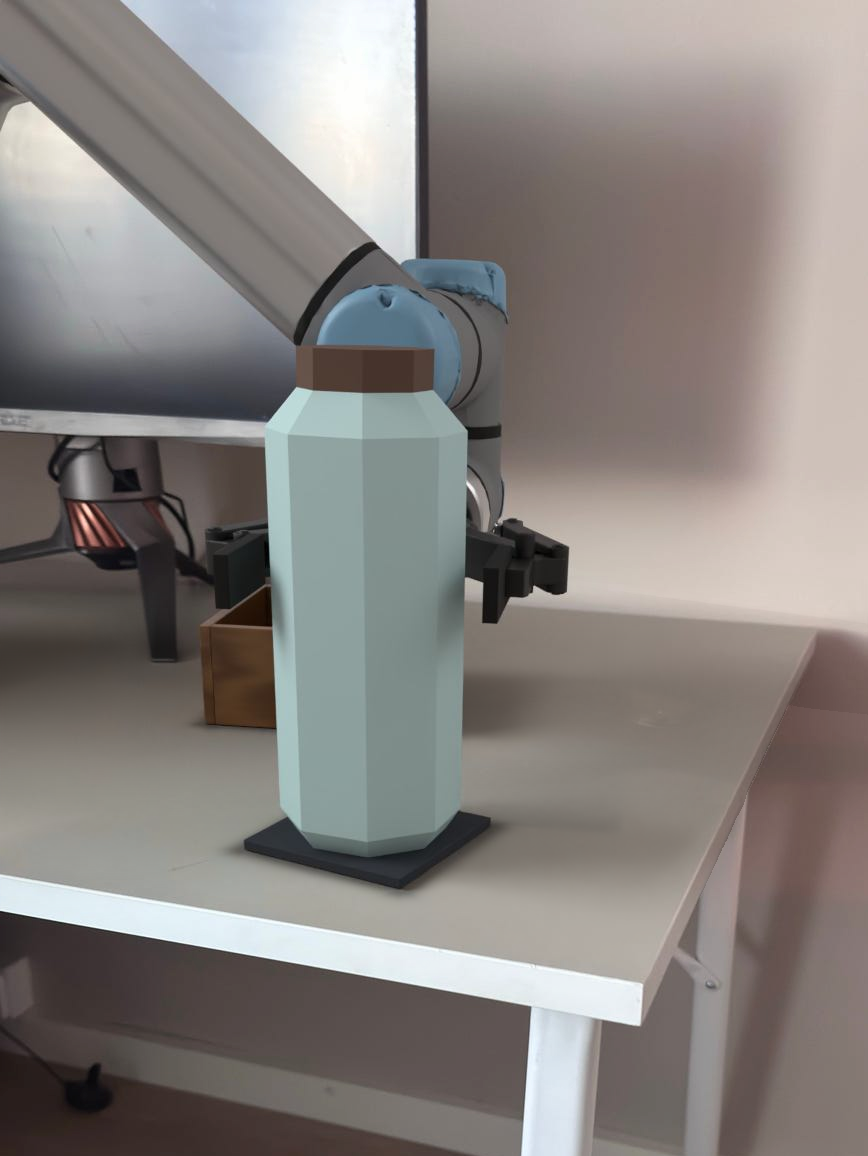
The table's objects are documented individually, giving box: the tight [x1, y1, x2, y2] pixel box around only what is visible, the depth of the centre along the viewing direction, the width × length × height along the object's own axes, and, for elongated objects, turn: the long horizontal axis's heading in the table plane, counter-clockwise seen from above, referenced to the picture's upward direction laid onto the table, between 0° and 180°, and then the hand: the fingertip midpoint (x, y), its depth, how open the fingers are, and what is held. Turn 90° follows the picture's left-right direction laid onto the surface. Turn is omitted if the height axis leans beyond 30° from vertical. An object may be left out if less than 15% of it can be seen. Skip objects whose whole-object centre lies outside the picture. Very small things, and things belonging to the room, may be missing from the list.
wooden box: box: [198, 583, 277, 729], centre depth 95 cm, size 15×15×7 cm
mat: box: [243, 810, 492, 890], centre depth 72 cm, size 10×10×1 cm
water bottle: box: [263, 345, 468, 858], centre depth 67 cm, size 10×10×25 cm
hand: (354, 589), depth 63 cm, fingers open, 13 cm apart
